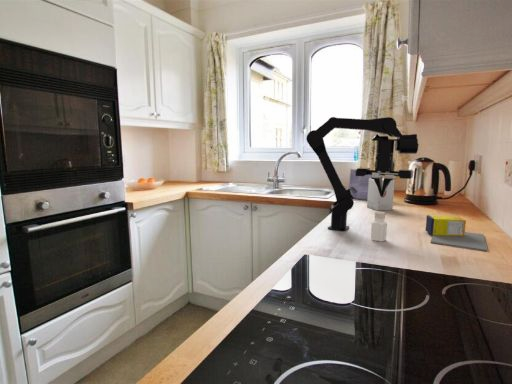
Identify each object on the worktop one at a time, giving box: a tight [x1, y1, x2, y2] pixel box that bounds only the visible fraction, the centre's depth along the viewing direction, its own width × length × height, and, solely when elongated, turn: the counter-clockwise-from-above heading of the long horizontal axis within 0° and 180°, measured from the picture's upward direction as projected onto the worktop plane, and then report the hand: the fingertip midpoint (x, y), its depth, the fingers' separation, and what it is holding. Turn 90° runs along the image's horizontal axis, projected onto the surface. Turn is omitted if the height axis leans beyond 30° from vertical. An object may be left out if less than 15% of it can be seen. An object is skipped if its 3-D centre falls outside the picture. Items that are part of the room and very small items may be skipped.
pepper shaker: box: [370, 211, 388, 243], centre depth 105 cm, size 4×4×10 cm
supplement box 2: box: [366, 177, 395, 211], centre depth 157 cm, size 9×9×15 cm
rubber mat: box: [430, 231, 488, 252], centre depth 107 cm, size 20×15×1 cm
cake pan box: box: [348, 168, 384, 201], centre depth 183 cm, size 19×5×18 cm, turn 58°
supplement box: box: [424, 214, 467, 237], centre depth 111 cm, size 6×6×11 cm
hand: (382, 196), depth 114 cm, fingers closed
